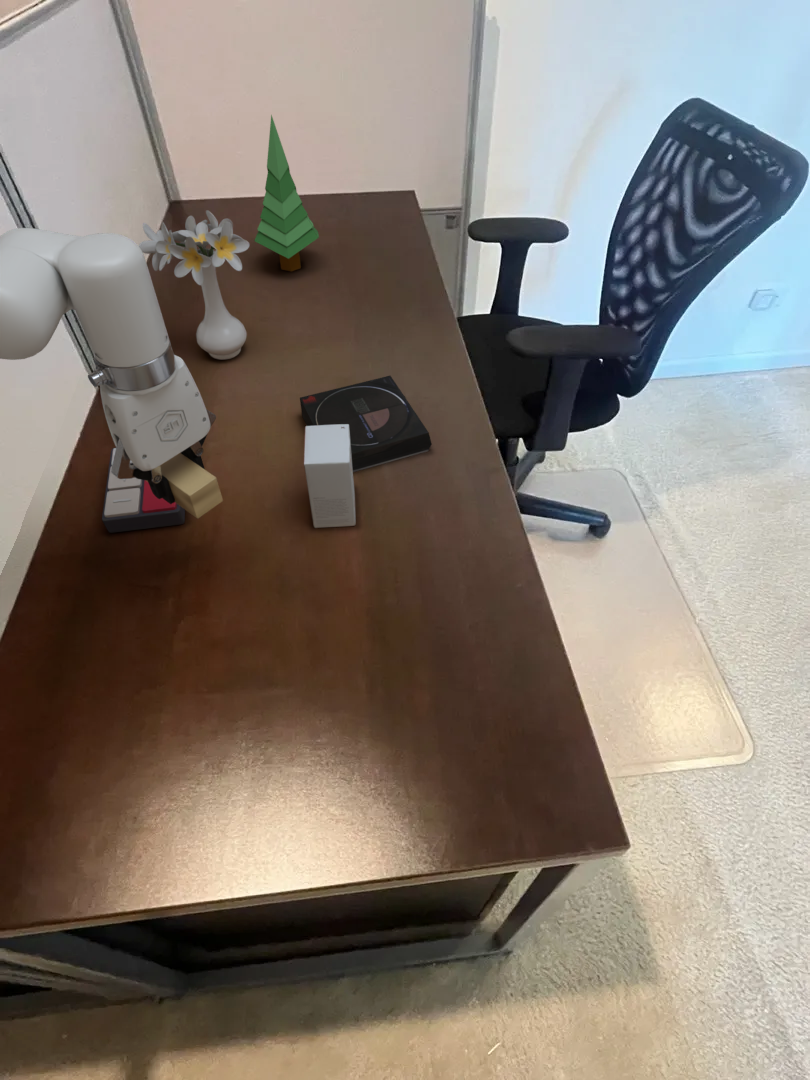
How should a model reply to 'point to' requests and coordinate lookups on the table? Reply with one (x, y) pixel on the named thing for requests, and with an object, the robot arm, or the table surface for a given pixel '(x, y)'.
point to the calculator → (136, 505)
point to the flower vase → (204, 275)
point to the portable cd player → (370, 421)
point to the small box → (329, 475)
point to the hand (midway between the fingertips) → (181, 486)
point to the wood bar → (191, 485)
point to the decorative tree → (283, 210)
